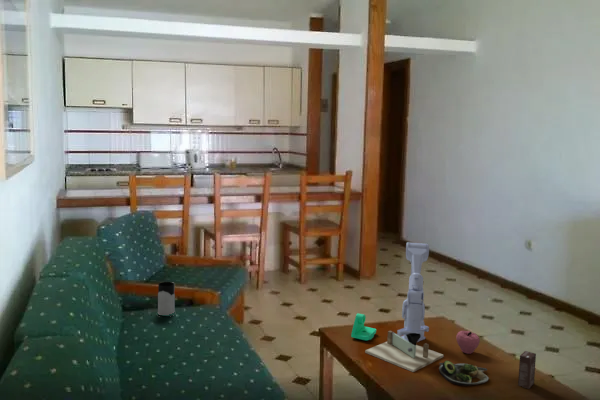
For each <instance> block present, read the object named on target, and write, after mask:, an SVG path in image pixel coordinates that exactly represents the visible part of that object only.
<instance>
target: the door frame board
mask: <svg viewBox="0 0 600 400" xmlns="http://www.w3.org/2000/svg"><path fill="white" fill-rule="evenodd" d="M393 332H394V331H392V330H388V331H387V339H386V340H387V341H385V342H382V343H380V344H378V345H375V346H373V347H370V348H368V349H365V351H364V353H365V354H367V355H370V356H373V357H375V358H377V359H380V360H382V361H385V362H387V363H389V364H392V365H394V366H397V367H399V368H402V369H405V370H407V371H410V372H411V373H414V372H416V371H418V370H420V369H422V368H424V367H427V366H429V365H430V364H432V363H434V362H436V361H439V360H441V359H443V358H444V357H445V356H444V354H442V353H440V352H437V351H434V350H431V349H429V348H430V347H429V346H430V345H429V343H427V342H426V343H423V346H421V345H418V344H416V355H415V358H412V357H411V356H409V355H408V354H406V353H405V352H403V351H402V350H400V349H399V348H397V347H395V346H394V345H392V333H393Z"/></svg>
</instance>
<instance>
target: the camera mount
mask: <svg viewBox="0 0 600 400" xmlns="http://www.w3.org/2000/svg"><path fill="white" fill-rule="evenodd" d="M366 319H367V317H366V314H364V313H359V312H357V313H356V315H355V318H354V322H353V324H352V325H353V326H352V329H351V334H350V335H351V338H354V339H357V340H362V341H371V340H373V338H374V337H375V334H376V333H377V329H376V328H373V327H369V326H365V323H366Z"/></svg>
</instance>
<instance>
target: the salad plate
mask: <svg viewBox="0 0 600 400" xmlns="http://www.w3.org/2000/svg"><path fill="white" fill-rule="evenodd" d="M438 364H439V367H438V371H439V373H440V375H441V376H442V377H443V378H444V379H445V380H446V381H447V382H449V383H451V384H453V385H456V386H461V387H463V386H464V387H467V386H469V387H470V386H475V385H480V384H484V383H486V382H488V381H489V379H490V378H489V376H488V375H486V374H485V373H484V372H487V371H488V369H487V368H485V367H480V366H479V367H478V366H477V365H473V364H471V363H469V364H468V363H463V362H462V363H453V362H451V361H450V360H444V361H443V362H439V363H438ZM473 378H477V379H479V380H478V381H477V382H472V379H473Z"/></svg>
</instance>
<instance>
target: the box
mask: <svg viewBox="0 0 600 400" xmlns="http://www.w3.org/2000/svg"><path fill="white" fill-rule="evenodd" d="M536 355H537V353H535V352H531V351H527V350H524V351H523V352H522V353H521V354H520V355H519V364H518V365H519V367H518V368H519V369H518V383H517V386H518V387H521V386H522V388H525V389H531V387H533V385H534V384H535V374H536V359H537V358H536V357H537V356H536Z"/></svg>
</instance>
